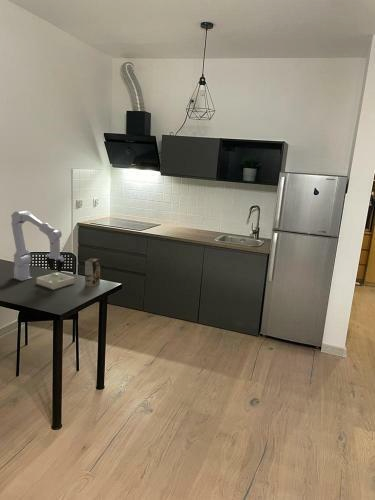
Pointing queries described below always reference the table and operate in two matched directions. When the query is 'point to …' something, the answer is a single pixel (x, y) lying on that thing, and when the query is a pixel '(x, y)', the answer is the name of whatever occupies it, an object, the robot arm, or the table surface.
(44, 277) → the white bin
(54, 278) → the sage green capsule
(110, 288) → the table surface
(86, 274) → the coffee box
